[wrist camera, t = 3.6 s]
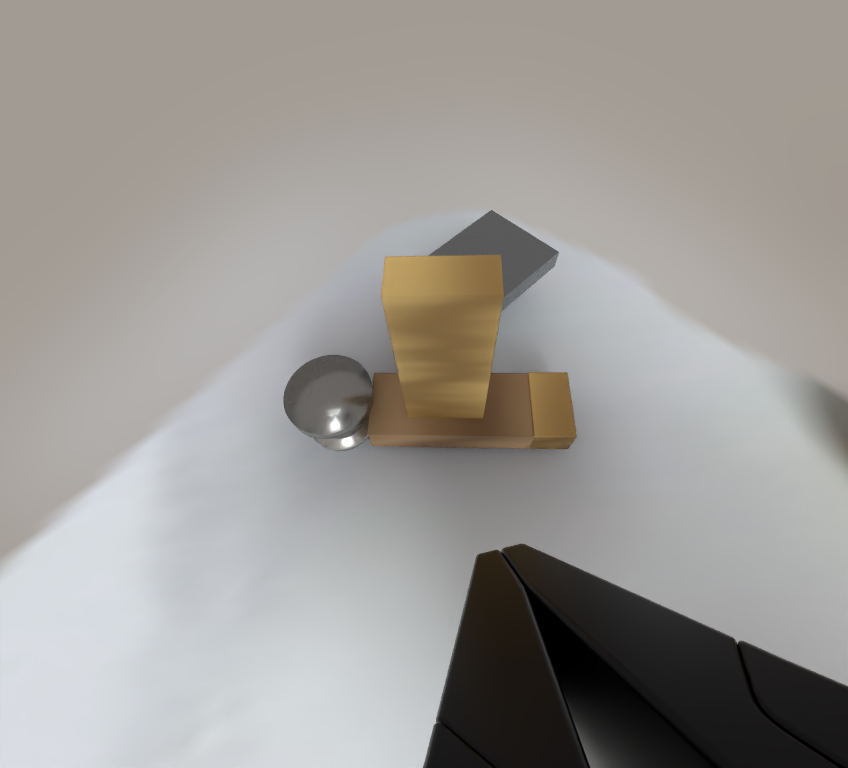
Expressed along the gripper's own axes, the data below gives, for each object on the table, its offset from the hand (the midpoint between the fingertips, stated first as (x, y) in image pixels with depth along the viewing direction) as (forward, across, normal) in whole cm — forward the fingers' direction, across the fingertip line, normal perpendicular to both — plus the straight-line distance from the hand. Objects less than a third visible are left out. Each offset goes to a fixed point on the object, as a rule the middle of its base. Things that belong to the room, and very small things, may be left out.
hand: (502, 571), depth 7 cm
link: (+13, +2, -3) cm, 14 cm away
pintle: (+15, -4, -2) cm, 15 cm away
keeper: (+18, +5, +2) cm, 19 cm away
